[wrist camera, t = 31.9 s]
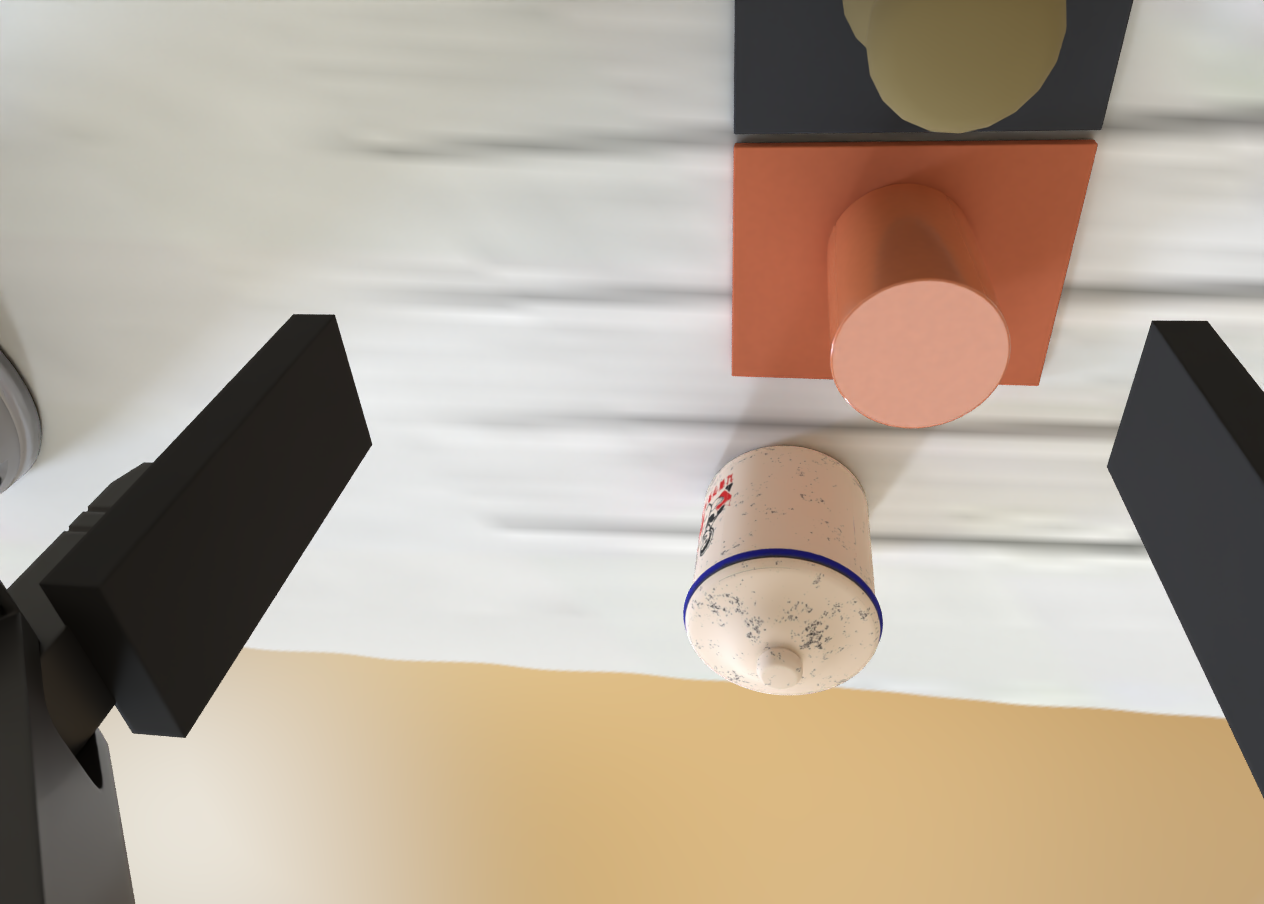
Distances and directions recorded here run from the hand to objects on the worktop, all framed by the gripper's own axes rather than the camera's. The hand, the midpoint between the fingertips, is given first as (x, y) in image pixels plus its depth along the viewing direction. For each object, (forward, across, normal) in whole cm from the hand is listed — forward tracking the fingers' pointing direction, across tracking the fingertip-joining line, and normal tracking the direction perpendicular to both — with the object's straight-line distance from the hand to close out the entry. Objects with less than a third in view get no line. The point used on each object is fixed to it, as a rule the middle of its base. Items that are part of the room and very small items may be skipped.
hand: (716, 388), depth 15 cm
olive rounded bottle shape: (+24, -6, -2) cm, 25 cm away
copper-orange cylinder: (+24, -6, +8) cm, 26 cm away
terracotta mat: (+25, -6, +9) cm, 27 cm away
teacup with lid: (+25, -2, +24) cm, 35 cm away
